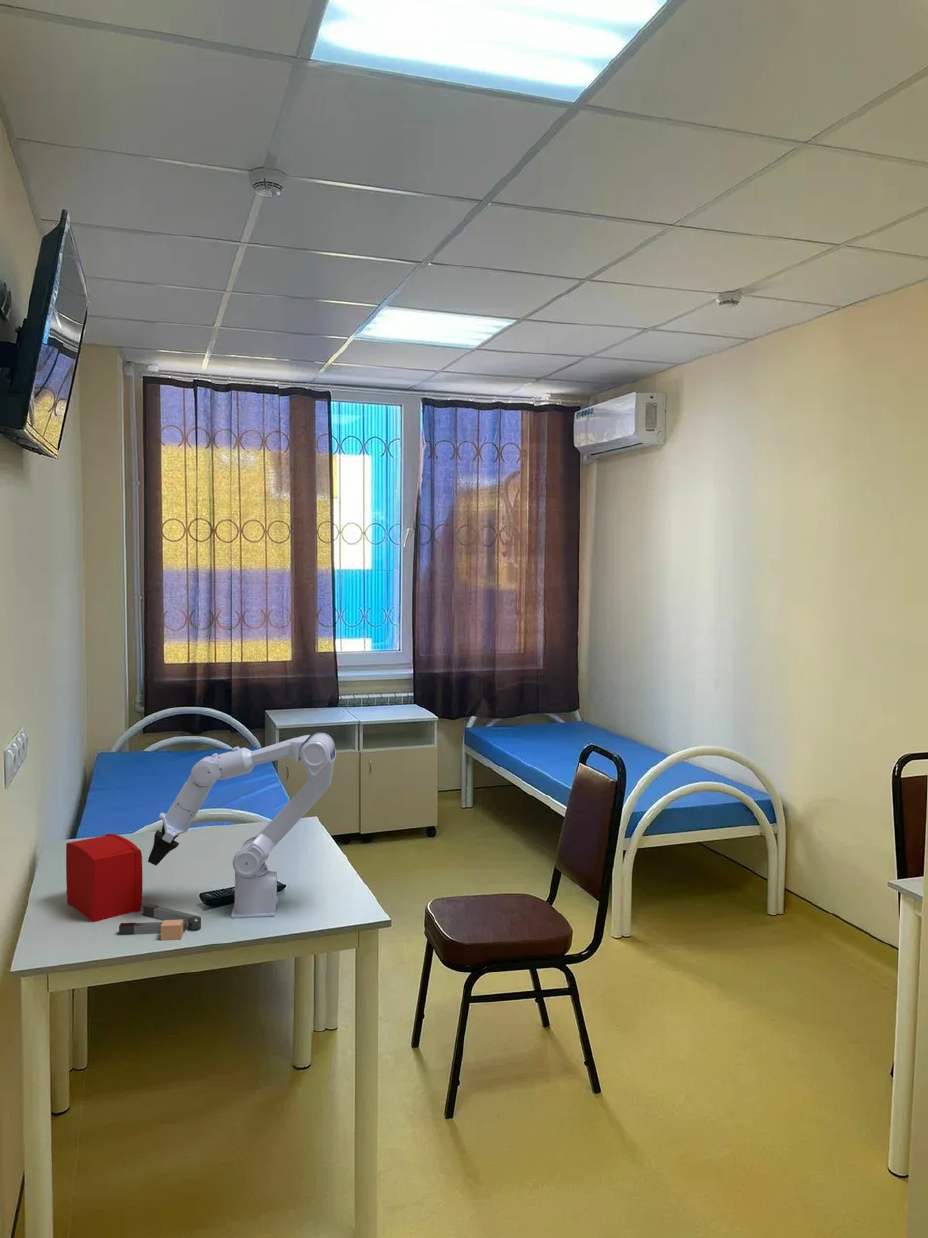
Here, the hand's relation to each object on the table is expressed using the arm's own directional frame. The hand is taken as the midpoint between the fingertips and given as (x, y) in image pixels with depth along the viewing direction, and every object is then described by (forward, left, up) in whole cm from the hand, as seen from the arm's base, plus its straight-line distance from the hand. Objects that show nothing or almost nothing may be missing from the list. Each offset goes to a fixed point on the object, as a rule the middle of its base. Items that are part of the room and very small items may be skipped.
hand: (155, 856), depth 199 cm
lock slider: (-6, +16, -12) cm, 21 cm away
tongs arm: (-5, +8, -12) cm, 15 cm away
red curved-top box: (+12, -3, -13) cm, 17 cm away
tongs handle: (-2, +13, -12) cm, 18 cm away
